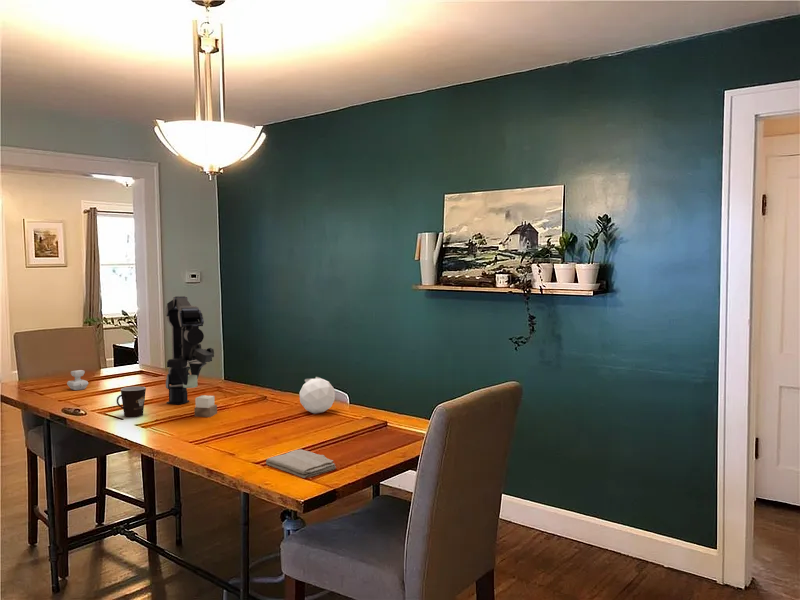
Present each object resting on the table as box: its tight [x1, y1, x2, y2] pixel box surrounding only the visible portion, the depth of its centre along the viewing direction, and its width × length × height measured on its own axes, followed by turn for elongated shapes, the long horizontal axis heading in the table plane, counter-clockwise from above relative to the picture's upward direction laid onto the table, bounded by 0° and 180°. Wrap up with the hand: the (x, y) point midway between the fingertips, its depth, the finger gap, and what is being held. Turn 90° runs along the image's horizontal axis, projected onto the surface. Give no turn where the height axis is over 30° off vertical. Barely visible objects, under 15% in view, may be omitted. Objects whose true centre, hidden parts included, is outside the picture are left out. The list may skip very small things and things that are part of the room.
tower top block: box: [194, 394, 215, 408], centre depth 236 cm, size 5×5×4 cm
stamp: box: [66, 369, 89, 391], centre depth 282 cm, size 9×7×8 cm
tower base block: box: [194, 404, 218, 418], centre depth 236 cm, size 6×6×4 cm
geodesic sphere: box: [299, 376, 336, 414], centre depth 241 cm, size 14×14×14 cm
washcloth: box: [265, 448, 337, 479], centre depth 176 cm, size 12×18×3 cm, turn 49°
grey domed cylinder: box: [183, 374, 198, 389], centre depth 233 cm, size 5×5×4 cm
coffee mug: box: [116, 386, 147, 418], centre depth 233 cm, size 12×9×10 cm
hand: (190, 383), depth 233 cm, fingers closed on grey domed cylinder, 5 cm apart
